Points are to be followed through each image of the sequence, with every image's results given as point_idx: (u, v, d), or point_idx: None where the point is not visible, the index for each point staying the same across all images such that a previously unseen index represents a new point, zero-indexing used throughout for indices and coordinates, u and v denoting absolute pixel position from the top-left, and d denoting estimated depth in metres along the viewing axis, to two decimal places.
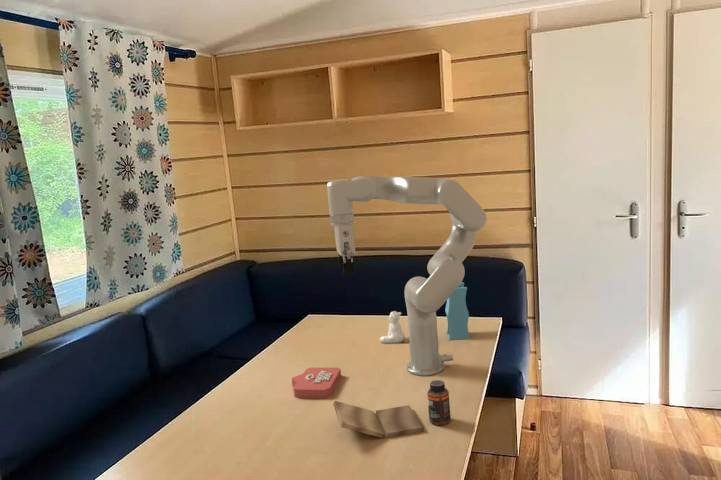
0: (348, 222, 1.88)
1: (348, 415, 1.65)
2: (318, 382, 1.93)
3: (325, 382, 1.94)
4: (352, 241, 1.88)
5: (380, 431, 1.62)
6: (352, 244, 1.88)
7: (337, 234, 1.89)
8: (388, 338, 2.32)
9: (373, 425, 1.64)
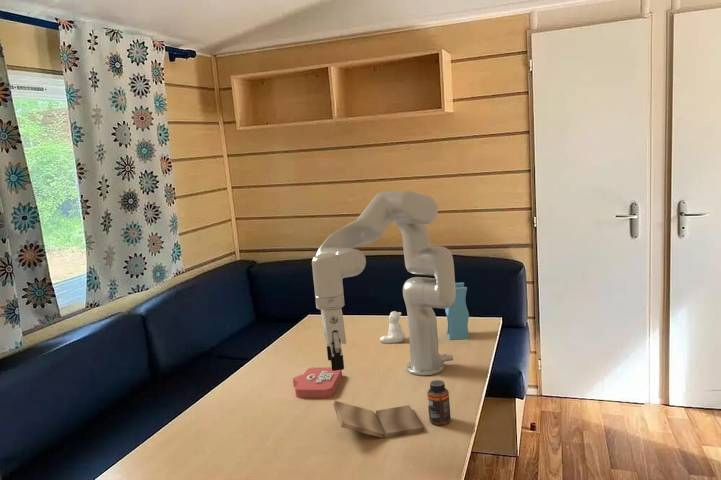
0: (337, 306, 1.57)
1: (348, 415, 1.65)
2: (320, 382, 1.93)
3: (327, 382, 1.93)
4: (342, 329, 1.56)
5: (380, 431, 1.62)
6: (342, 332, 1.56)
7: (324, 320, 1.57)
8: (388, 338, 2.32)
9: (373, 425, 1.64)
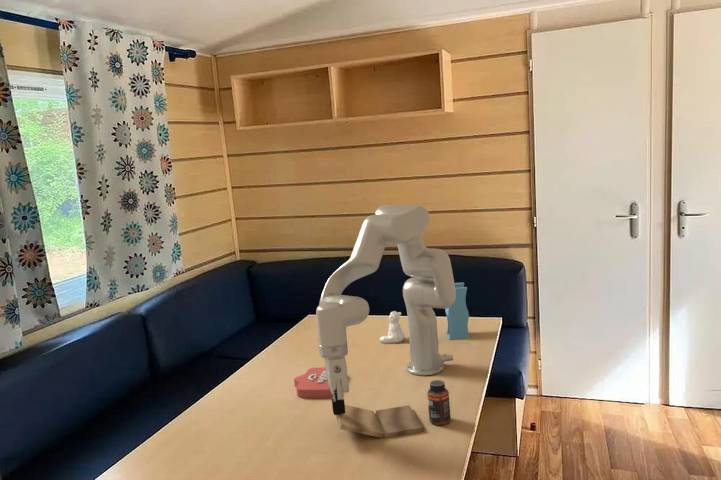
0: (341, 355, 1.59)
1: (348, 416, 1.65)
2: (321, 382, 1.93)
3: None
4: (345, 378, 1.59)
5: (380, 431, 1.62)
6: (345, 381, 1.59)
7: (328, 369, 1.59)
8: (388, 338, 2.32)
9: (373, 425, 1.64)
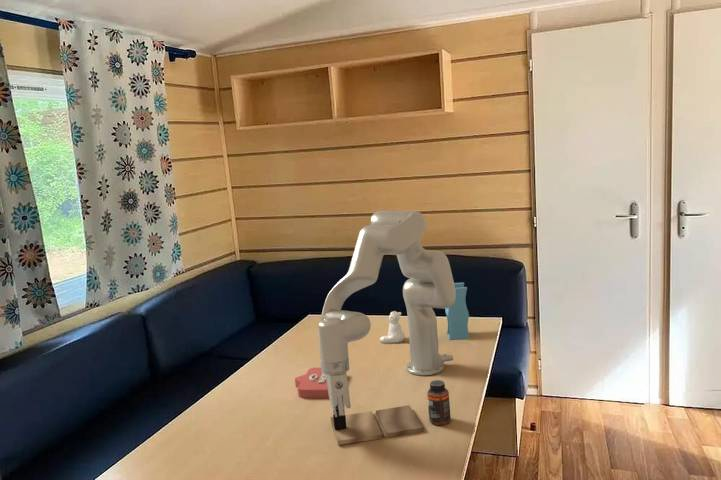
0: (342, 371, 1.59)
1: None
2: (322, 382, 1.93)
3: None
4: (347, 394, 1.59)
5: (378, 432, 1.62)
6: (347, 397, 1.59)
7: (329, 385, 1.60)
8: (388, 338, 2.32)
9: (371, 428, 1.64)
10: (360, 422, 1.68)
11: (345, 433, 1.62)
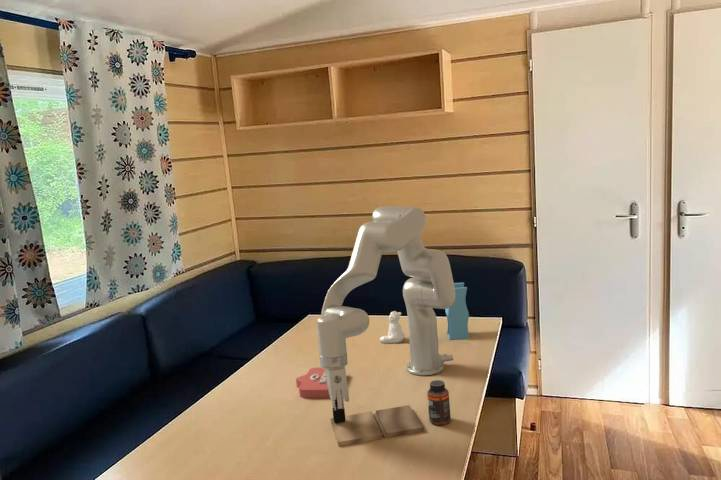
0: (341, 365, 1.64)
1: (345, 429, 1.65)
2: (323, 382, 1.93)
3: None
4: (345, 388, 1.63)
5: (378, 432, 1.62)
6: (345, 391, 1.63)
7: (328, 379, 1.64)
8: (388, 338, 2.32)
9: (371, 429, 1.64)
10: (360, 423, 1.68)
11: (345, 434, 1.62)
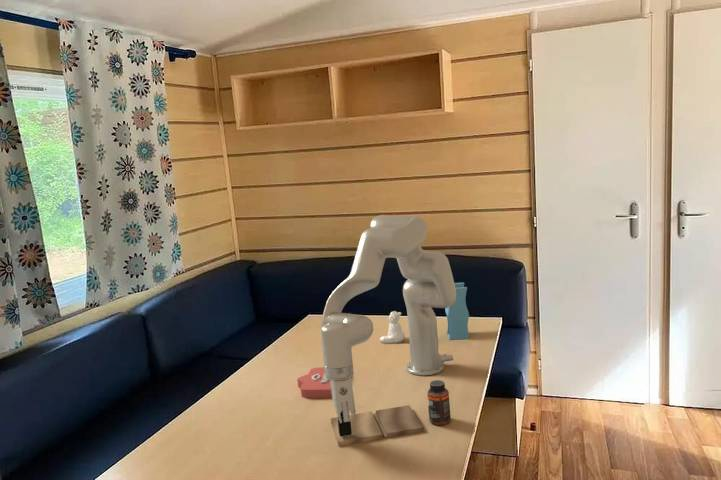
0: (346, 376, 1.55)
1: None
2: (325, 382, 1.93)
3: None
4: (351, 400, 1.55)
5: (378, 432, 1.62)
6: (351, 403, 1.55)
7: (333, 390, 1.55)
8: (388, 338, 2.32)
9: (371, 429, 1.64)
10: (360, 423, 1.68)
11: None
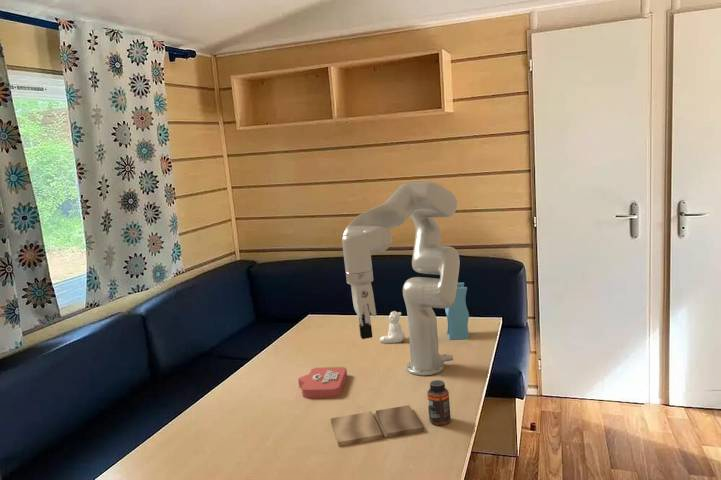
0: (367, 281, 1.67)
1: (345, 429, 1.65)
2: (326, 382, 1.93)
3: (333, 382, 1.93)
4: (372, 302, 1.66)
5: (378, 432, 1.62)
6: (372, 305, 1.67)
7: (355, 294, 1.67)
8: (388, 338, 2.32)
9: (371, 429, 1.64)
10: (360, 423, 1.68)
11: (345, 434, 1.62)
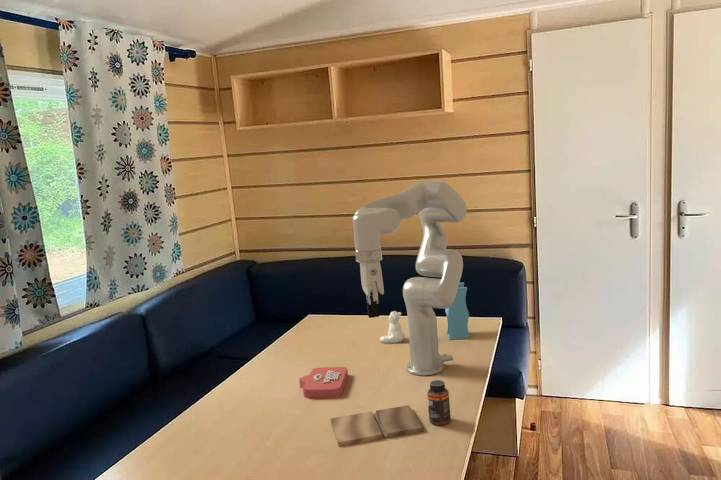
0: (376, 259, 1.71)
1: (345, 429, 1.65)
2: (327, 382, 1.93)
3: (334, 381, 1.93)
4: (380, 280, 1.71)
5: (378, 432, 1.62)
6: (380, 283, 1.71)
7: (364, 272, 1.72)
8: (388, 338, 2.32)
9: (371, 429, 1.64)
10: (360, 423, 1.68)
11: (345, 434, 1.62)
